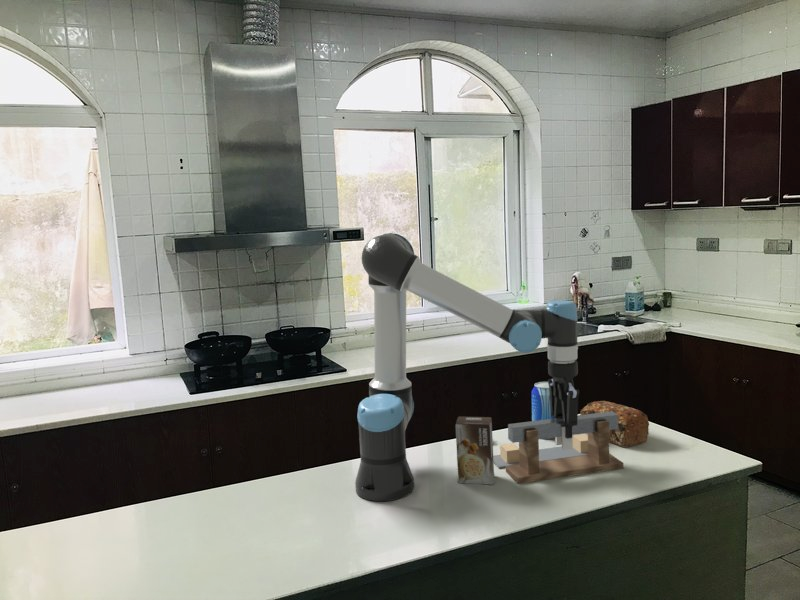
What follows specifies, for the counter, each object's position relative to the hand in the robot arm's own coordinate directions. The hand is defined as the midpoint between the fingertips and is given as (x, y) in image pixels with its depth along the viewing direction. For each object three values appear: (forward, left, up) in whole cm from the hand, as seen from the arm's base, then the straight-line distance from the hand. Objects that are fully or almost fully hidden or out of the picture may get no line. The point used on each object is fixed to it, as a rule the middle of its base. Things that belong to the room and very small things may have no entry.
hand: (564, 446), depth 170 cm
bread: (+25, +18, -7) cm, 32 cm away
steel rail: (0, 0, +3) cm, 3 cm away
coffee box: (-24, +2, -7) cm, 25 cm away
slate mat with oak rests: (0, +11, -7) cm, 12 cm away
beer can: (+7, +26, -7) cm, 28 cm away
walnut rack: (0, 0, -7) cm, 7 cm away
